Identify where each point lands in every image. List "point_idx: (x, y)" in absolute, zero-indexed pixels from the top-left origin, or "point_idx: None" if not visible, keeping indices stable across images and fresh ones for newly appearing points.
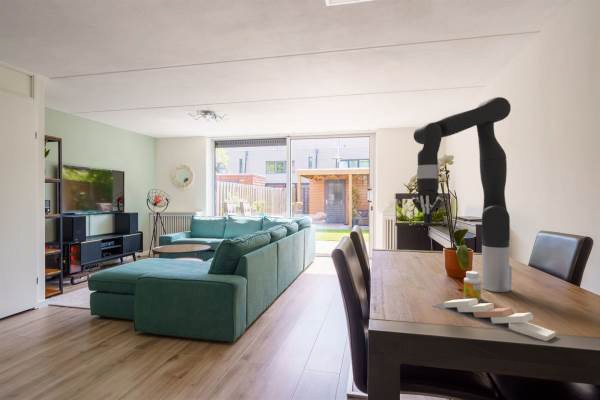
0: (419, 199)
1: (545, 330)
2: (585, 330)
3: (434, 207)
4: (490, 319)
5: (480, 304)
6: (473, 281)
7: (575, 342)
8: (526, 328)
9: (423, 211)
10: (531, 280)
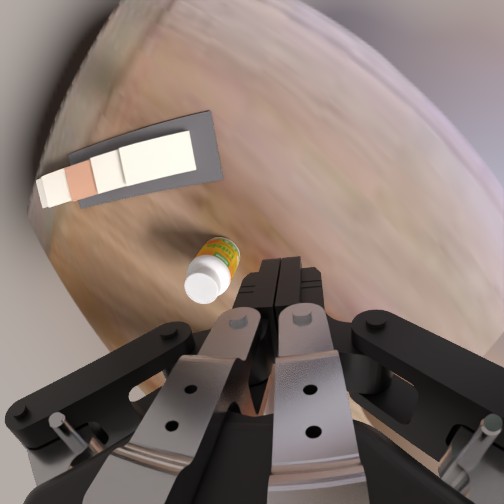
0: (428, 480)
1: (46, 199)
2: (61, 271)
3: (115, 363)
4: None
5: (113, 174)
6: (190, 264)
7: (38, 216)
8: None
9: (310, 321)
10: None
